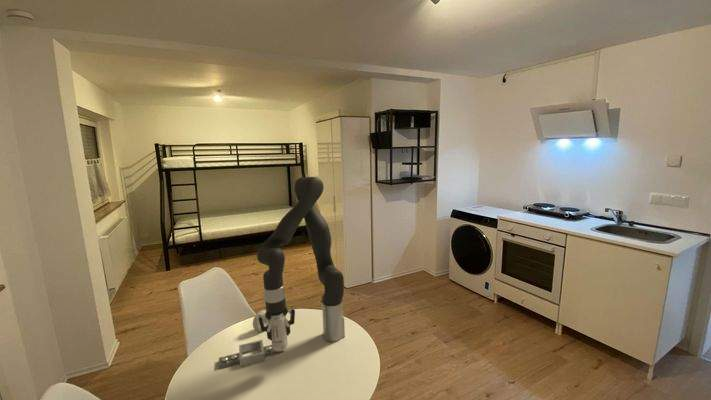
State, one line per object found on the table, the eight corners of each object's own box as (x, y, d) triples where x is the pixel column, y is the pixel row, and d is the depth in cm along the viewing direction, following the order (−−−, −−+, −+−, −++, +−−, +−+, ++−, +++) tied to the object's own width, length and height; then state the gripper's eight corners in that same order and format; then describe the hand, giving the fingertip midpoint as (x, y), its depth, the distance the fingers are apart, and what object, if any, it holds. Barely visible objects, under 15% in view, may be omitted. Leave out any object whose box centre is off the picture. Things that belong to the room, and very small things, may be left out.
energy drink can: (269, 350, 119) (265, 315, 116) (278, 341, 124) (274, 307, 121) (282, 353, 117) (278, 318, 114) (291, 344, 122) (287, 309, 119)
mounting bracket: (281, 342, 138) (280, 335, 138) (284, 355, 130) (284, 348, 129) (219, 357, 129) (218, 350, 129) (218, 372, 120) (217, 364, 120)
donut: (269, 324, 153) (267, 305, 151) (273, 326, 151) (272, 307, 149) (252, 334, 145) (250, 314, 143) (256, 336, 143) (254, 316, 141)
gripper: (292, 288, 122) (295, 326, 126) (254, 297, 117) (259, 336, 120) (295, 297, 116) (299, 337, 119) (256, 306, 110) (260, 347, 113)
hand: (279, 336), depth 120 cm, fingers closed on energy drink can, 6 cm apart
